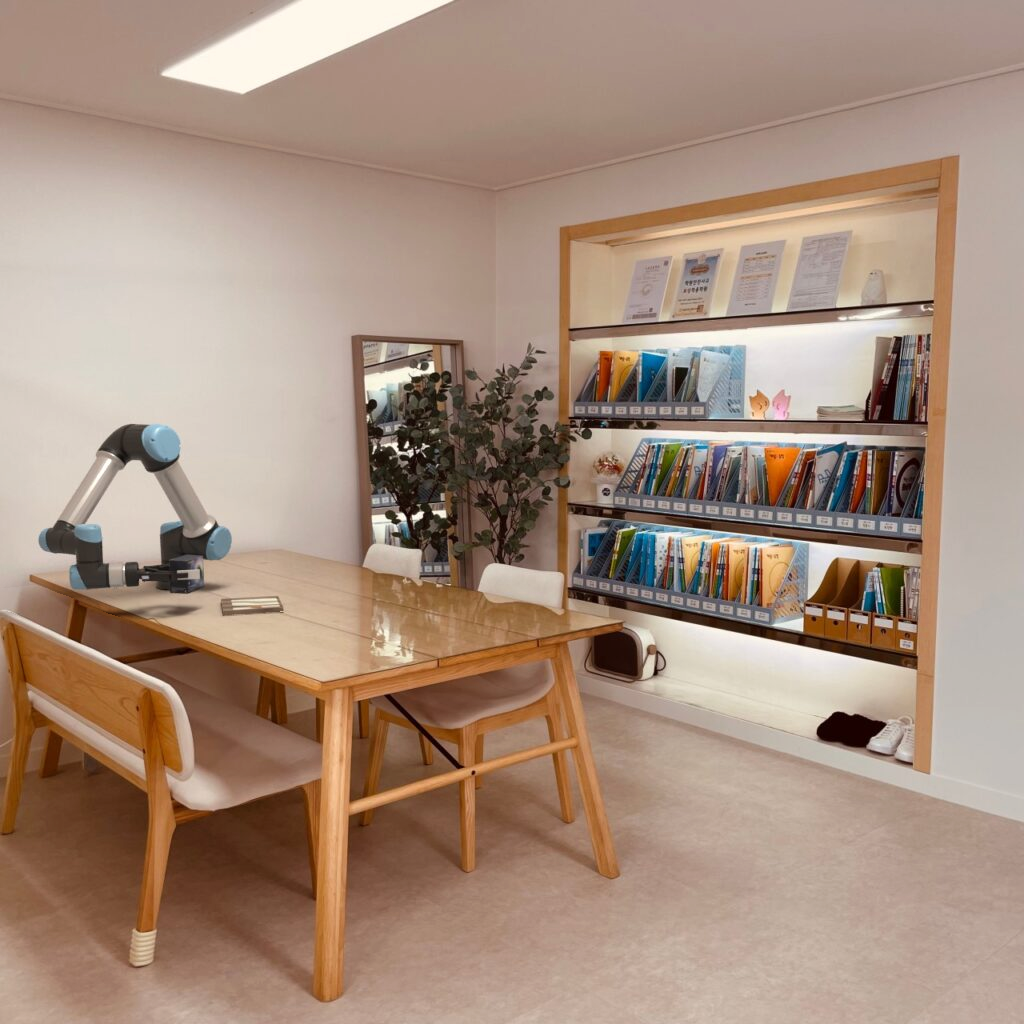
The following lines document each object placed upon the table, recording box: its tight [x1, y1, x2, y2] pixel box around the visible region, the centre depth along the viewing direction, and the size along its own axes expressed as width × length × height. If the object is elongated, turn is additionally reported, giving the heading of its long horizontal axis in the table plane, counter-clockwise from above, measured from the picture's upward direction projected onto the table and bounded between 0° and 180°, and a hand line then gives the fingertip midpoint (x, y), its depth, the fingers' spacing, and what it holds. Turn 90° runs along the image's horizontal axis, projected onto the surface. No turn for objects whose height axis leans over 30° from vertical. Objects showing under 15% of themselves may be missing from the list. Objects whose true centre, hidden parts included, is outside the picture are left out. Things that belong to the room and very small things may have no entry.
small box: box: [169, 555, 205, 595], centre depth 324 cm, size 11×6×10 cm, turn 168°
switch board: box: [220, 595, 284, 616], centre depth 331 cm, size 20×18×2 cm
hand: (199, 570), depth 325 cm, fingers closed on small box, 12 cm apart
